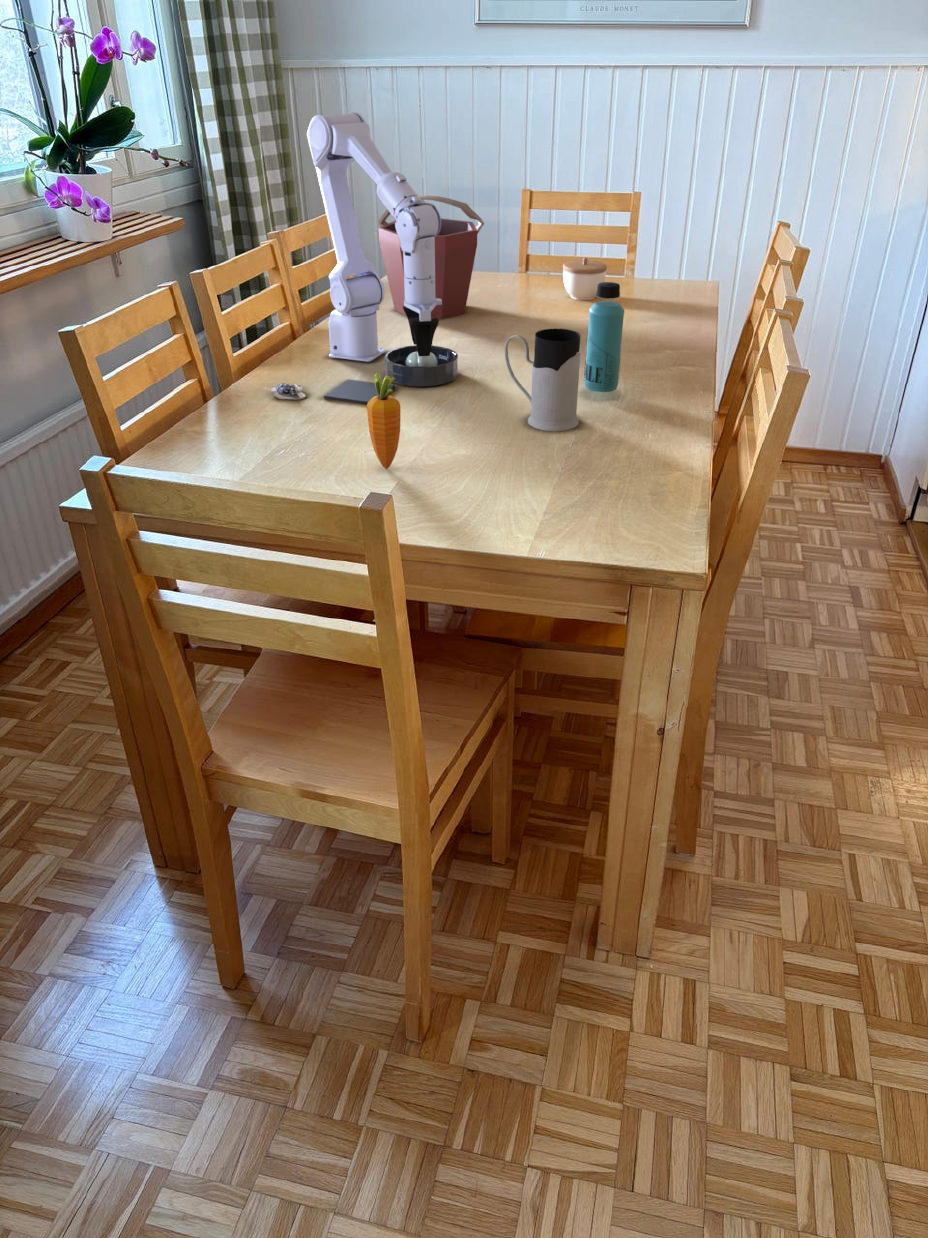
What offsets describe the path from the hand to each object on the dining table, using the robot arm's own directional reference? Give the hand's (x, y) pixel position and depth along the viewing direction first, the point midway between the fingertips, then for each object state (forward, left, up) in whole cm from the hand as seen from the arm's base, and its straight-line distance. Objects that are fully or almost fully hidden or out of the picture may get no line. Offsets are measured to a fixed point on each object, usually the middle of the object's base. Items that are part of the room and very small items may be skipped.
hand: (421, 349), depth 179 cm
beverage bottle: (+35, +2, -5) cm, 35 cm away
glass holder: (+28, -14, -5) cm, 32 cm away
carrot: (+12, -43, -5) cm, 45 cm away
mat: (-7, -13, -5) cm, 16 cm away
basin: (0, 0, -5) cm, 5 cm away
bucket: (-17, +46, -5) cm, 49 cm away
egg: (0, 0, -3) cm, 3 cm away
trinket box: (+14, +71, -5) cm, 73 cm away
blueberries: (-19, -18, -5) cm, 27 cm away
